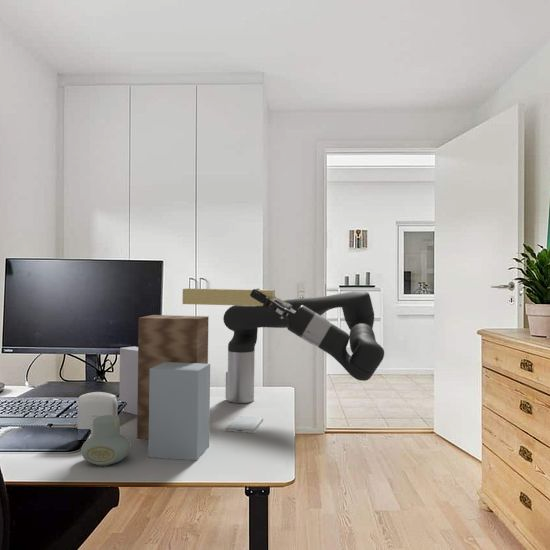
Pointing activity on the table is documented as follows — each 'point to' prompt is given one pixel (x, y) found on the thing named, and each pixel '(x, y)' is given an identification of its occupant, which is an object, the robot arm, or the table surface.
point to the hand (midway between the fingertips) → (253, 291)
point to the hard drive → (245, 424)
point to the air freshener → (106, 442)
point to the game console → (129, 378)
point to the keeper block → (179, 410)
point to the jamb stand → (166, 353)
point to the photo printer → (94, 408)
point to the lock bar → (223, 297)
